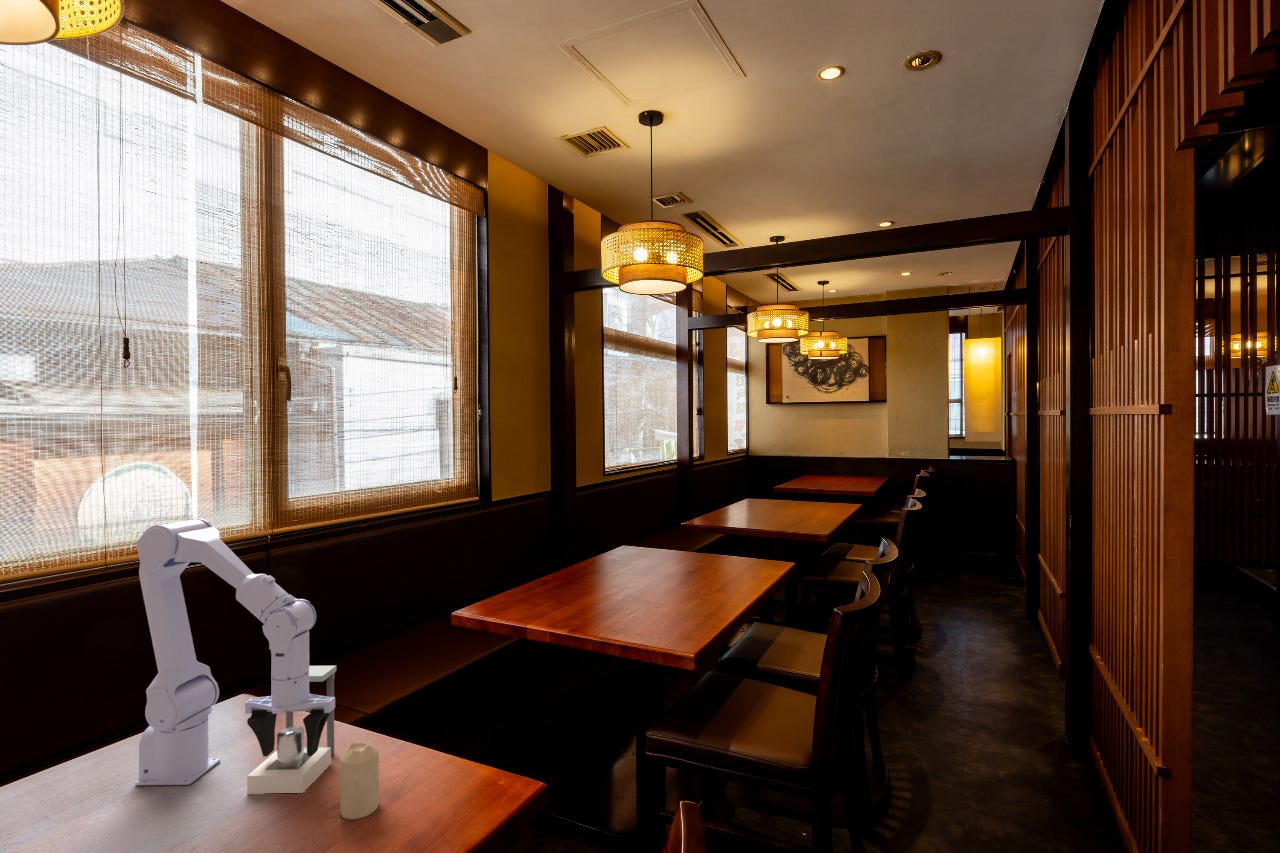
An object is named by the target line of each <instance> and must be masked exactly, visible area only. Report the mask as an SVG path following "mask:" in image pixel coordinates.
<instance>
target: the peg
mask: <svg viewBox="0 0 1280 853" xmlns="http://www.w3.org/2000/svg"><path fill="white" fill-rule="evenodd" d="M276 736H277V738H276V739H277V740H276V744H277V749H276V751H277V770H298V769H299V768H300V767H301V766H302V765H303V764H304V748H305V727H302V726H293V727H289V728H286V727H285V728H284V729H281V730H280V731H278V733H277V734H276Z"/></svg>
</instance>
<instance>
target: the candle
mask: <svg viewBox="0 0 1280 853" xmlns="http://www.w3.org/2000/svg"><path fill="white" fill-rule="evenodd" d="M379 759H380V758H379V749H378V748H377V747H376V746H374V745H372V744H370V743H364V742H357V743H351V744H350V745H349V747H348V748H347V749H346V750H345V751H344V752H343V754H342V755H341V756H340V758H339V761H340V762H339V768H340V769H339V770H340V771H339V772H340V775H339V776H340V777H339V778H340V779H339V780H340V781H339V782H340V783H339V786H340V788H339V790H340V792H339V796H340V797H339V798H340V800H339V803H340V814H341V817H342V818H343V819H345V820H359V819H362V818H365V817H368V816H370V815H372V814H373V813H374V812H375V811H376V810H377V809H378V807H379V805H380V804H379V800H380V797H379V795H380V790H379V788H380V787H379V786H380V785H379V784H380V782H379V774H380V773H379V770H380V769H379V768H380V767H379Z"/></svg>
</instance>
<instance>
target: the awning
mask: <svg viewBox="0 0 1280 853" xmlns="http://www.w3.org/2000/svg"><path fill="white" fill-rule="evenodd" d="M336 672H337V665H309V683H311V682H315V683H318V682H319V683H321V682H322V683H323V682H324V681H326V697H335V679H336V678H335V676H336V674H335V673H336ZM289 727H294V711H288V712H285V729H286V728H289ZM326 747H331V756H333V755H335V708H334V709H333V710H332V711H331V713H330V715H329V717H328V719H327V721H326Z"/></svg>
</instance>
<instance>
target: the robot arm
mask: <svg viewBox="0 0 1280 853" xmlns="http://www.w3.org/2000/svg"><path fill="white" fill-rule="evenodd" d="M220 532H221V531H220V529H217V528H216V527H214V526H213V525H212V524H211V522H210V521H208V520H207V519H205V518H201V517H200V518H199V517H198V518H193V519H191V520H183V521H178V522H172V523H167V524H154V525H152V526H150V527H147V528H146V530H145V531H144V532H143V533H142V534H141V535H140V537H139V538H138V539H137V541H136V549H137V553H138V557H139V558H138V559H139V569H138V574H139V575H138V576H139V582H140V588H141V591H142V598H143V603H144V606H145V612H146V616H147V617H146V618H147V623H148V627H149V632H150V637H151V642H152V643H151V644H152V648H153V652H154V658H155V662H156V668H157V674H156V675H155V677H154V678H153V679H152V681H151V683H150V684H149V686H148V687H147V688H146V690H145V694H146V705H145V710H144V712H145V713H144V715H145V719H146V722H147V723H148V726H147V728H146V729H145V730H144V731H143V733H142V735H141V738H140V740H139V744H138V780H136V781H135V782H134V785H135V786H181V785H184V786H185V785H186V786H188V785H191V784H192V783H193V782H196V780H198V778H199V779H200V777H202V776H203V775H204V774H205V773H207V772H208V771H209V770H211V769H212V768H213V767H214V766H216V765H217V764H218V763H219V762H221V758H220V757H209V715H210V714H212V707H213V706H214V705H215V704H216V703H217V701H218V700H219V696H220V688H219V684H218V682H217V681H216V680H215V678H214V677H213V675H212V673H211V668H210V666H208V665H207V664H205V663H202V662H199V660H197V655H196V651H195V647H194V641H193V635H192V632H191V631H192V630H191V626H190V620H189V617H188V612H187V610H188V609H187V606H186V602H185V601H186V600H185V596H184V591H183V586H182V581H181V578H180V577H181V574H182V573H183V572H184V570H186V568H187V567H188V565H189V564H190V563H201V564H203V565H204V566H205V567H207V568H208V569H209V570H210V571H212V572H213V573H214V574H216V575H217V576H219V577H220V578H221V579H223V580H224V581H225V582H227V584H228V585H231V586H232V587H234V588H235V590H236V591H235V600H236V601H237V602H239V603H240V604H241V605H242V606H243V607H244V608H246V609H247V610H248V611H249V613H251V614H252V615H253V616H255V617H256V618H257V619H258V620H259V621H260V622H261V623H263V625H262V632H263V635H264V636H265V638H266V639H267V640H268V644H269V645H268V646H269V648H268V650H270V653H271V654H270V655H271V656H270V657H271V664H270V665H271V666H270V667H271V672H270V675H271V676H270V677H271V678H270V679H271V680H270V681H271V683H270V684H271V688H270V690H271V693H270V694H271V695H268V696H259V697H258V696H257V697H250V698H249V700H247V701H245V702H244V713H245V714H246V715H248V714H249V715H250V717H248V718H247V719H246V721H247V722H246V723H247V725H248V726H249V727H250V729H251V730H252V732H253V733H254V735H255V737H256V739H257V741H258V744H259V747H260V749H261V754H262V756H263V757H269V755H270V754H272V752H273V753H274V752H275V746H276V745H275V743H276V742H275V741H276V740H275V739H276V737H275V736H276V735H275V734H276V733H275V730H276V721H277V716H278V715H280V714H286V712H288V711H293V712H309V713H308V714H307V715H306V716H305V717H304V718H303V719H302V722H303V725H304V730H305V734H306V748H307V755H308V756H312V755H313V754H314V753H316V752H317V751H318V747H320V740H321V737H322V733H323V730H324V729H325V728H324V727H325V726H326V724H327V719H328V717H329V715H330V713H331V711H332V710H333V709H334V710H335V708H336V696H334V697H327V695H326V696H325V695H320V694H313V693H310V682H309V666H310V631H309V630H311V629H312V628H313V627H314V626H315V624H316V621H317V612H316V609H315V607H314V606H313V605H312V604H311V602H310V601H309V600H307V599H304V598H296V597H295V596H293V595H292V594H289V593H288V592H287V591H286V590H284V588H282V587H281V586H280V585H279V584H277V583H276V578H274V577H273V576H272V575H268V574H266V573H254V572H253V571H252V570H251V569H250V568H249V567H248V566H247V565H246V564H245V563H244V562H243V561H242V560H241V559H240V558H239V556H237V555H236V554H235V553H234V551H232V549H231V548H229V547H228V545H227V544H225V543H224V541H223V540H222V539H221V533H220Z"/></svg>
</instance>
